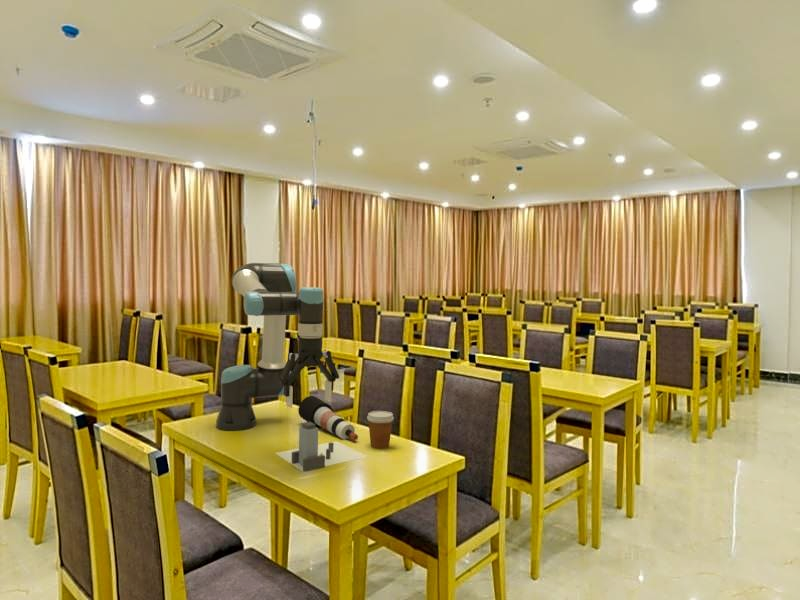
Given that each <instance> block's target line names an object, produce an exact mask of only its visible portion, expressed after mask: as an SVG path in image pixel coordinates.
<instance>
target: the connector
mask: <svg viewBox="0 0 800 600" xmlns="http://www.w3.org/2000/svg"><path fill="white" fill-rule="evenodd" d="M315 425H316V424H314V423H312V422H307V421H306V422H305V421H304V422H302V423H301V426H298V427H299V429H298V430H299V431H298V448H299V464H300V465H301V466H303V459H305V458H310V457H315V456H318V445H319V428H316V427H315Z"/></svg>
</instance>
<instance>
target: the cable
mask: <svg viewBox="0 0 800 600" xmlns="http://www.w3.org/2000/svg"><path fill="white" fill-rule="evenodd" d="M297 409H298V415H299V416H300V418H301V419H302V420H304V422H305V421H306V422H312V423H314V424H316V425H315V427H316V428H318V429H323V430H326V431H327V432H328V433H331V434H333V435H335V436H337V437H338V438H340V439H342V440H347V439H352V440H353V441H357V440H358V439H359V435H358V434H357V433H355V431H356V429H355V426H354V425H353V424H351V423H350V422H348V421H346V420H345V419H344V418H343V417H341V415H339V414H338V413H335V411H334V410H333V407H332V406H331V405H330V404H328V403H327V402H325V401H323V400H321V399H320V398H319V397H317V396H314V395H310V396H309V395H308V396H306V397H304V398H303V400H301V402H300V404H299V405H298V408H297Z"/></svg>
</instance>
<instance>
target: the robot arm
mask: <svg viewBox="0 0 800 600" xmlns="http://www.w3.org/2000/svg"><path fill="white" fill-rule="evenodd" d="M231 285H232V287H233V289H234V290H235V292H236V293H238V294H240V295H242V297H243V310H244V313H245V315H246V316H253V317H259V316H261V317H262V316H263V328H262V332H263V333H262V346H261V347H262V350H261V351H262V352H261V359H260V361H258V362H257V368H253V366H252V364H239V365H234V366H230V367H227V368H224V369H223V371H222V372H221V376H220V377H221V378H220V385H221V387H220V389H221V390H220V391H221V393H220V395H221V396H220V409H219V411H218V414H217V418H216V421H215V427H216V428H217V429H219V430H224V431H242V430H247V429H251V428H253V427H255V426H256V425H257V418H256V414H255V412H254V407H253V406H252V405H253V404H252V403H253V401H252V400H253V399H256V398H257V399H258V398H272V397H273V398H277V397H281V396H284V397H285V399H286V401H285V404H286V405H285V406H286V407H287V408H289V409H290V408H293V398H294V397H293V396H294V395H293V393H294V392H293V391H294V390H293V385H292V384H293V382H294V381H295V379H296V378H297V377H298V375H299V374H300V373H301V372H302V371H303V369H305V367H306V368H309V367H317V368H318V370H320V372H321V373H322V374H323V375H324V377H325V378H326V380H325V382H324V402H325V401H326V402H328V403H330V402H332V392H333V391H334V383H335V382H336V379H340V375H339V372H338V370H337V367H336V365H335V363H334V361H333V359H332V352H331V350H324V351H322V349H323V338H322V336H323V327H324V326H323V325H324V321H323V320H324V301H325V298H324V290H323V288H322V287H315V286H313V287H312V286H311V287H310V286H309V287H308V286H303V287H300V288H299V291H297V278H296V273H295V269H294V267H293V266H292V265H290V264H287V263H286V264H285V263H279V262H276V263H274V262H273V263H272V262H270V263H269V262H268V263H267V262H263V263H261V262H250V263H246V264H243V265H241V266H239V267H238V268H237V269H236V270H235V271H234V272H233V274H232V277H231ZM287 316H298V330H297V331H298V332H297V335H298V336H299V337H297V349H298V351H297V353H292V352H289V353H288V355H287V361H285V342H286V322H287V321H286V320H287ZM322 358H324V360H325V363H326V365H327V367H328V368H327V367H326V366H325V364H324V362H322V360H321V359H322ZM296 361H297V362H296ZM295 363H296V364H295ZM294 365H295V366H294ZM293 366H294V368H293Z"/></svg>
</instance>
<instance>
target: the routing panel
mask: <svg viewBox="0 0 800 600" xmlns="http://www.w3.org/2000/svg"><path fill="white" fill-rule="evenodd" d="M274 455H277V456H278V457H280V458H281V459H282V460H285V461H286V462H287V463H289V464H290V465H292V466H294V467H295V468H297V469H298V470H300V471H301V472H308V471H312V470H317V469H320V468H325V467H329V466H333V465H338V464H341V463H346V462H352V461H354V460H360V459H363V458H367V457H368V456H367V455H365V454H363V453H361V452H359V451H357V450H355V449H353V448H352V447H350V446H347V445H345V444H343V443H341V442H339V441H336V440H335V441H331V442H325V443H318V456H315V457H310V458H305V459H303V466H301V465H300V464H299V447H297V448H295V449H289V450H283V451H279V452H278V451H277V452H275V453H274Z"/></svg>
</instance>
